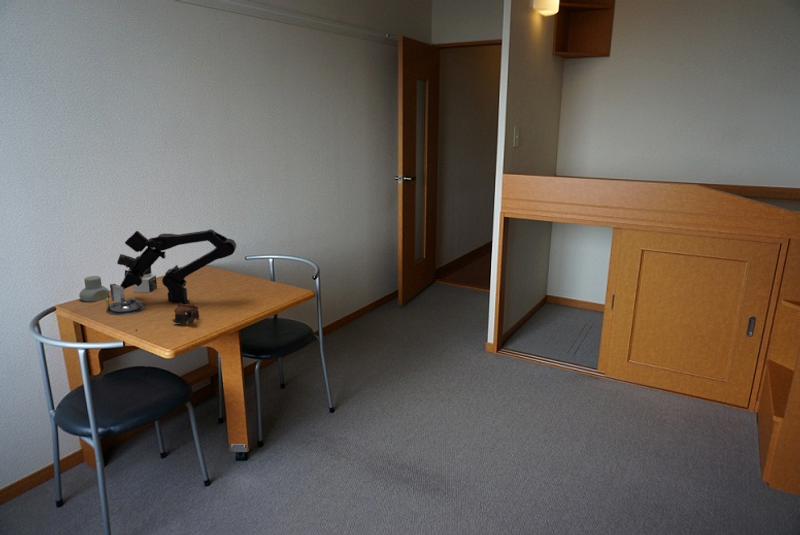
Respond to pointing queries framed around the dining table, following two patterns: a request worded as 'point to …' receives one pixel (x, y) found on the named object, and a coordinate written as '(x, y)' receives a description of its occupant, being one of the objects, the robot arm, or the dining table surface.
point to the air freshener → (93, 290)
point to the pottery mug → (189, 317)
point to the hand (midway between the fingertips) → (119, 289)
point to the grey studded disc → (122, 301)
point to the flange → (121, 313)
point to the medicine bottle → (146, 283)
